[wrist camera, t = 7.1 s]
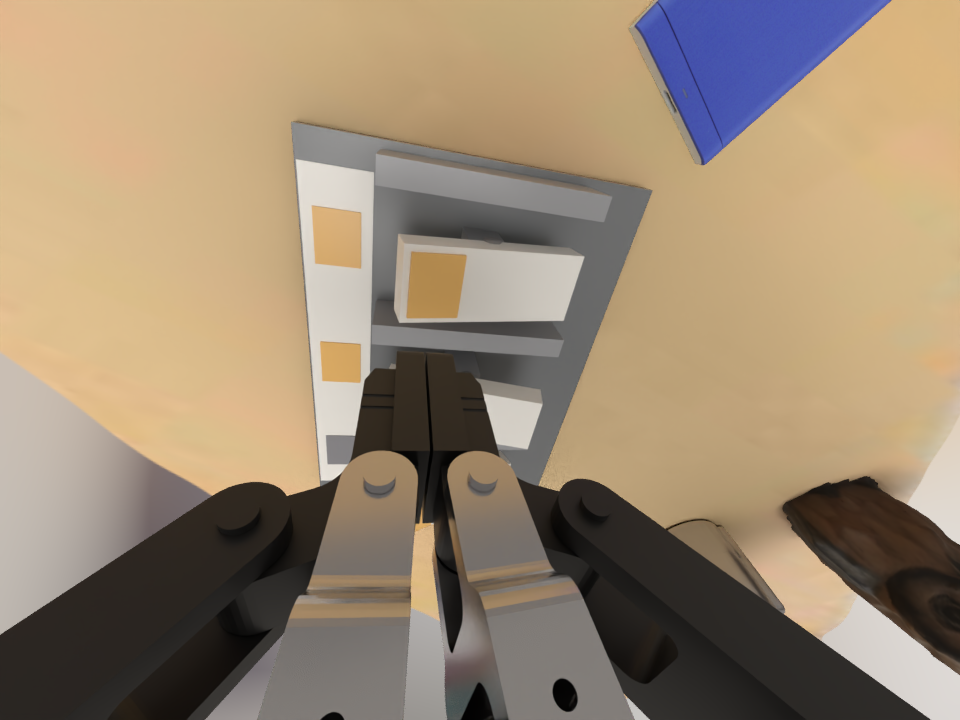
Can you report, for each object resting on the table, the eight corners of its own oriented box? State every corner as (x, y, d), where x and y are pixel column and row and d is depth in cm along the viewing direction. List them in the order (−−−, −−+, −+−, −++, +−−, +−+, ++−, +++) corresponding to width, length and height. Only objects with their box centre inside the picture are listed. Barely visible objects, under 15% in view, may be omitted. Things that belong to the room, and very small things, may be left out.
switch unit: (643, 187, 22) (687, 201, 18) (534, 479, 35) (547, 519, 32) (296, 121, 18) (268, 122, 14) (323, 481, 31) (312, 527, 28)
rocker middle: (540, 383, 22) (543, 404, 21) (525, 429, 24) (527, 452, 23) (393, 358, 22) (384, 376, 20) (390, 407, 24) (381, 427, 22)
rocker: (565, 243, 20) (586, 255, 18) (546, 307, 22) (564, 323, 20) (396, 228, 16) (405, 242, 15) (392, 307, 18) (399, 326, 17)
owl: (774, 503, 45) (982, 725, 29) (880, 448, 42) (1184, 662, 25) (795, 538, 52) (975, 736, 35) (889, 492, 48) (1137, 687, 32)
